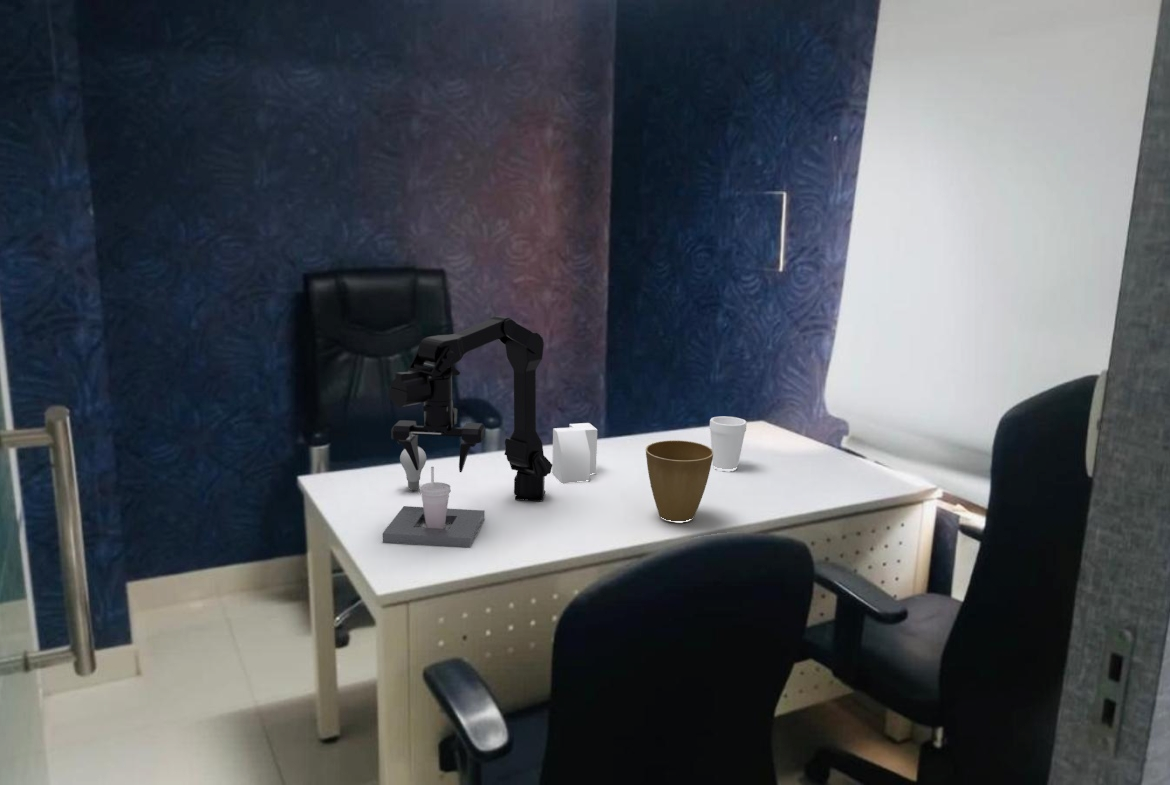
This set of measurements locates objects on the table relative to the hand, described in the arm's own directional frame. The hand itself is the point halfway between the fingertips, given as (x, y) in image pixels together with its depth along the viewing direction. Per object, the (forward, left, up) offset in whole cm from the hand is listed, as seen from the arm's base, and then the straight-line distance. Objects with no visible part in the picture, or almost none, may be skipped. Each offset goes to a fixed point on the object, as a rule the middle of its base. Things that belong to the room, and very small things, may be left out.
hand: (439, 470), depth 189 cm
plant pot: (-51, -13, -13) cm, 54 cm away
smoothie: (0, +2, -13) cm, 13 cm away
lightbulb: (+11, -22, -13) cm, 28 cm away
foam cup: (-65, -52, -13) cm, 84 cm away
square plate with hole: (0, +2, -13) cm, 13 cm away
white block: (-26, -40, -13) cm, 49 cm away
